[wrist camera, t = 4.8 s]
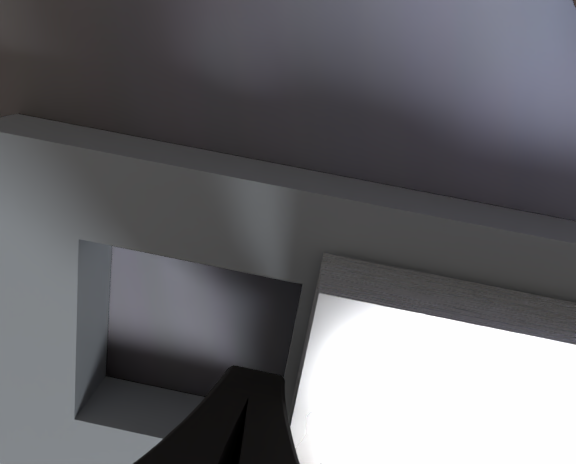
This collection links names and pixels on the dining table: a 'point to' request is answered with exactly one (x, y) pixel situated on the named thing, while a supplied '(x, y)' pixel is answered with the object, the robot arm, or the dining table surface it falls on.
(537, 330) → the sliding cover
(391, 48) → the dining table surface
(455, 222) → the grey flat frame
